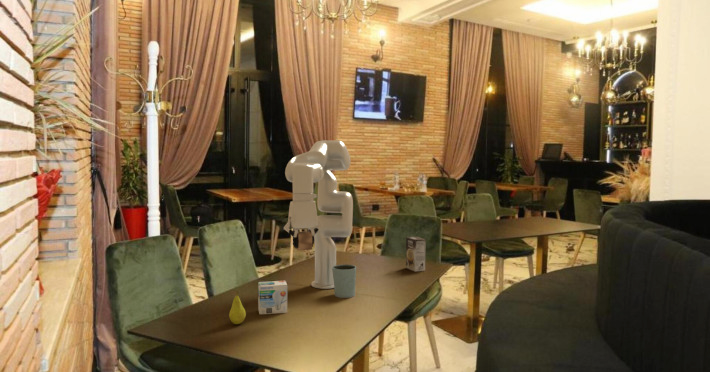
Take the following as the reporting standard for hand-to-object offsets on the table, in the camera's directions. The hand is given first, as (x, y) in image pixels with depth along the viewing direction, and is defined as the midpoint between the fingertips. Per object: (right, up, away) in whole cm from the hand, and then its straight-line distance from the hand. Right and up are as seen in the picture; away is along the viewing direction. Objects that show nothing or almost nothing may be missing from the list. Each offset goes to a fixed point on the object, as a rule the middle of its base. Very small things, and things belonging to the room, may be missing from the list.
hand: (303, 246), depth 189 cm
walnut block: (0, -1, 0) cm, 1 cm away
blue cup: (+15, -24, +26) cm, 38 cm away
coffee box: (+50, -20, +72) cm, 90 cm away
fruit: (-22, -26, -10) cm, 36 cm away
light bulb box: (-12, -25, +5) cm, 28 cm away
